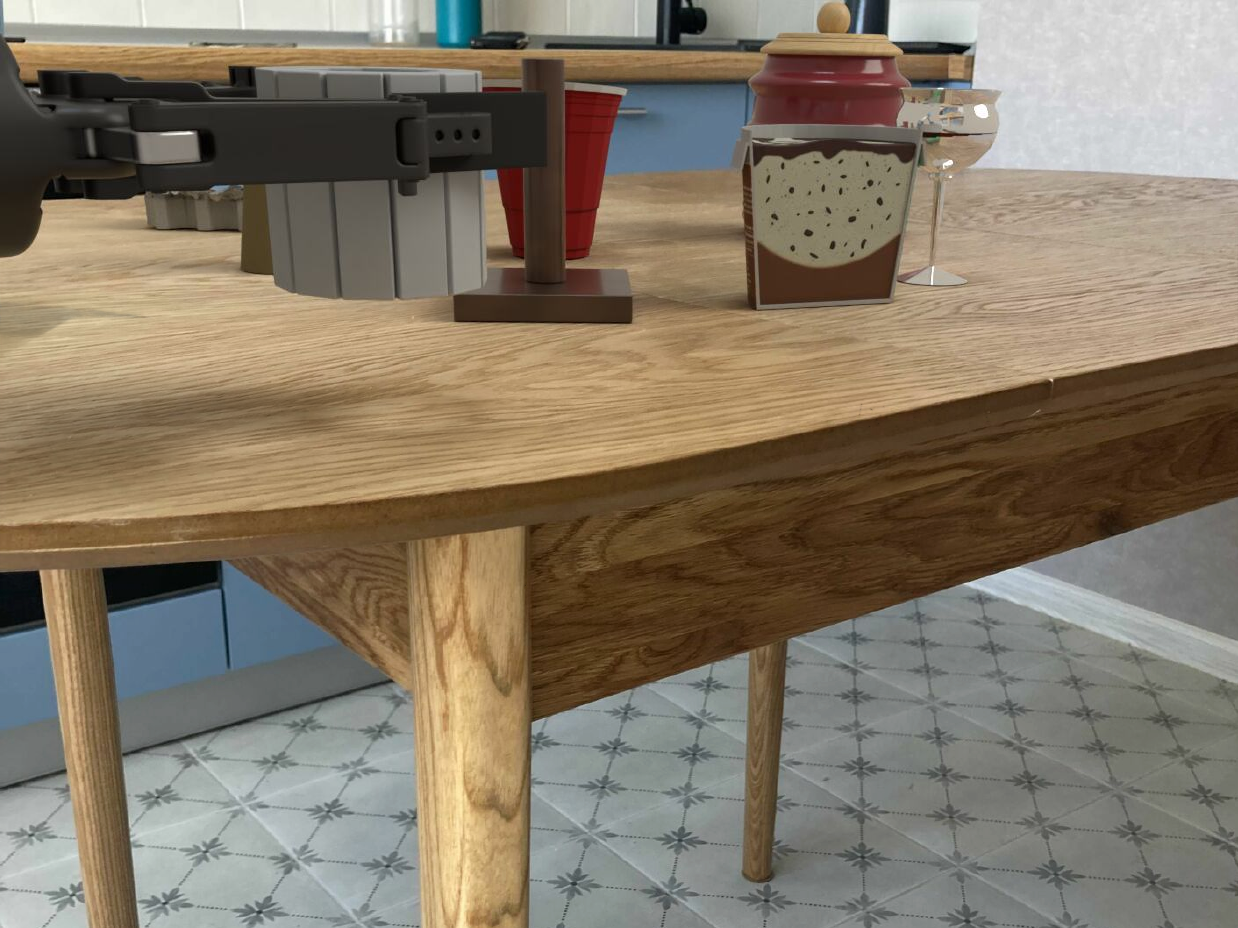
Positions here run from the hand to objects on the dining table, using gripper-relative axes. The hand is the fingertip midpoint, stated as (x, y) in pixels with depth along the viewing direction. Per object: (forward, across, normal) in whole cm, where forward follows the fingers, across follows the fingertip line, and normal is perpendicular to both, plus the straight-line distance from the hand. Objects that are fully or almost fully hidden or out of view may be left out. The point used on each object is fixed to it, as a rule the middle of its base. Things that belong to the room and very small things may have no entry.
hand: (470, 122), depth 56 cm
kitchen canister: (+55, -28, -12) cm, 63 cm away
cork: (+11, -37, -12) cm, 41 cm away
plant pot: (-5, 0, -6) cm, 8 cm away
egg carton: (+18, -61, -12) cm, 64 cm away
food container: (+31, -8, -12) cm, 34 cm away
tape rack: (+16, -15, -11) cm, 25 cm away
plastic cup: (+30, -32, -12) cm, 45 cm away
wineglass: (+44, -8, -12) cm, 46 cm away
